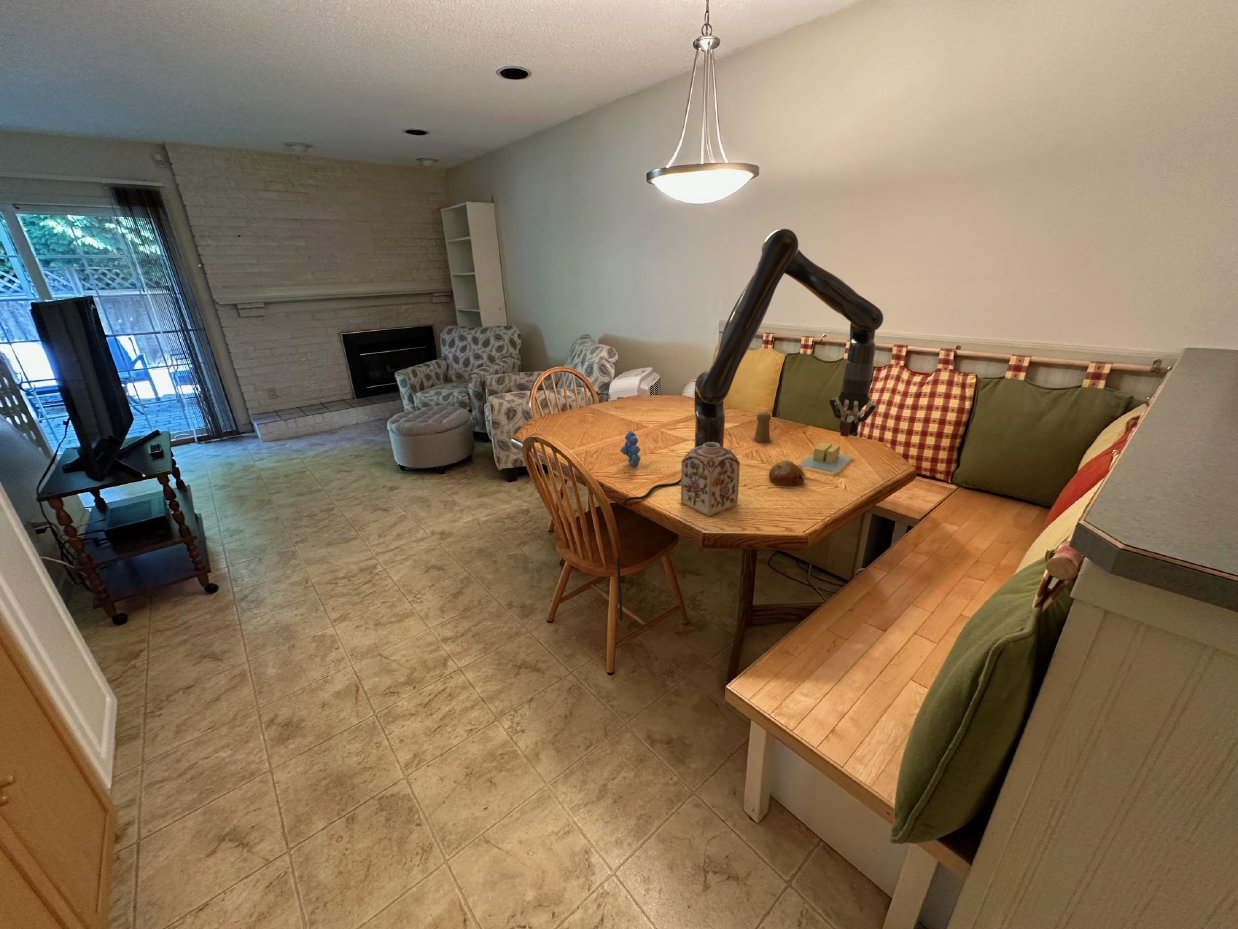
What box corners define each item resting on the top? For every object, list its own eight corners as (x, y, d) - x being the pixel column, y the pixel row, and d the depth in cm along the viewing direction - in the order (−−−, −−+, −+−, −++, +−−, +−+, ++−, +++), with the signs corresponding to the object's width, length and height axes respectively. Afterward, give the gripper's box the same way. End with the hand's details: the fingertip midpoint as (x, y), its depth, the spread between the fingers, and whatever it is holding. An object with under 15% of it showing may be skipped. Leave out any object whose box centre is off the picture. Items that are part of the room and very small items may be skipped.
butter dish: (835, 476, 152) (836, 473, 151) (798, 468, 159) (798, 465, 159) (852, 459, 164) (853, 457, 164) (817, 452, 172) (817, 450, 171)
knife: (847, 436, 143) (850, 422, 141) (840, 435, 144) (842, 421, 143) (864, 423, 155) (866, 410, 153) (857, 422, 156) (859, 409, 155)
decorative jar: (738, 505, 135) (742, 445, 128) (709, 517, 129) (711, 455, 122) (708, 491, 144) (710, 434, 137) (679, 502, 138) (680, 443, 131)
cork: (753, 442, 185) (755, 414, 181) (754, 437, 190) (756, 410, 186) (769, 443, 183) (772, 415, 179) (770, 438, 188) (772, 411, 184)
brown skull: (783, 483, 157) (775, 460, 156) (812, 478, 149) (804, 453, 149) (768, 492, 150) (760, 468, 150) (797, 487, 143) (789, 462, 142)
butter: (822, 461, 161) (823, 450, 160) (812, 459, 163) (814, 448, 162) (830, 454, 167) (831, 443, 165) (821, 452, 169) (822, 442, 167)
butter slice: (831, 463, 160) (832, 451, 158) (825, 462, 161) (827, 450, 159) (838, 456, 165) (840, 445, 164) (833, 455, 166) (834, 444, 165)
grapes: (616, 461, 171) (615, 428, 166) (634, 458, 172) (634, 426, 168) (625, 472, 160) (624, 438, 156) (644, 470, 161) (643, 436, 157)
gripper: (828, 376, 142) (820, 431, 148) (879, 381, 133) (868, 440, 140) (837, 372, 147) (829, 426, 153) (886, 377, 139) (875, 434, 145)
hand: (848, 432), depth 147 cm, fingers closed on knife, 2 cm apart
